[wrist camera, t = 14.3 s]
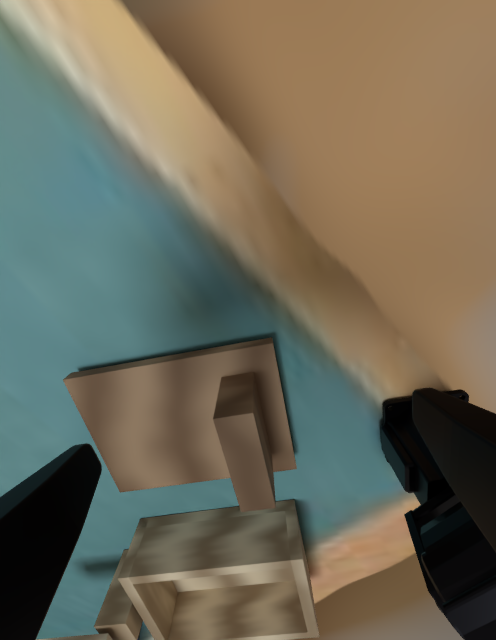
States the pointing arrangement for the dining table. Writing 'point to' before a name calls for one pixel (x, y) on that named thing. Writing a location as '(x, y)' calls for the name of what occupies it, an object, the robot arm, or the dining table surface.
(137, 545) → the toolbox
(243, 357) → the lid
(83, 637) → the beige wooden plank
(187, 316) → the dining table surface
